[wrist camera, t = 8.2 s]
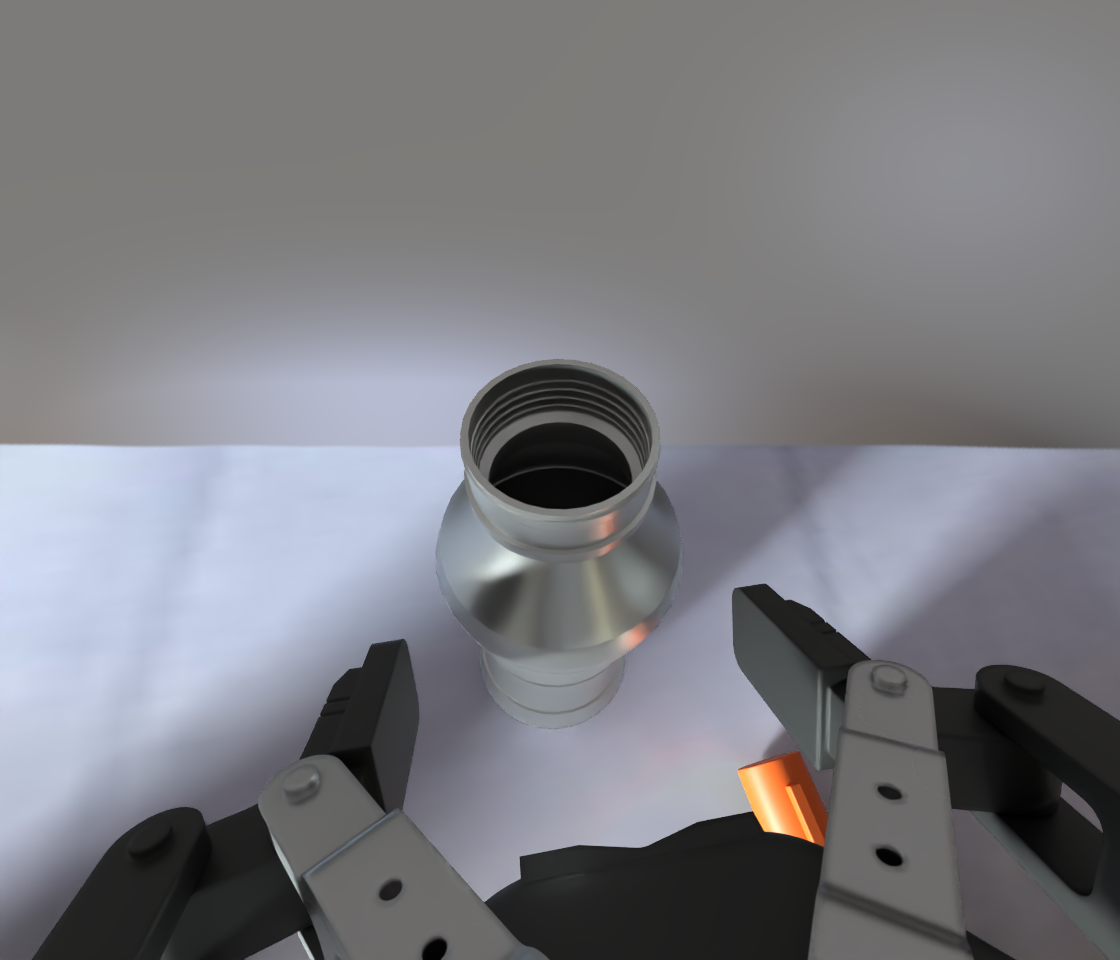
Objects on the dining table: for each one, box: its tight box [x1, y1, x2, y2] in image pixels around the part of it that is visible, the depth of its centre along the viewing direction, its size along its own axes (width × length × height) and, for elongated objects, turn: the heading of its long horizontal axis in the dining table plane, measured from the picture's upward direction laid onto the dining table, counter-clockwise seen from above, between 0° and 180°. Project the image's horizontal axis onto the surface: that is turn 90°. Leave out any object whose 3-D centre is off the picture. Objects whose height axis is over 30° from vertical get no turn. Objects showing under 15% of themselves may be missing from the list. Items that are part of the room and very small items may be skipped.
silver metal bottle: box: [436, 359, 683, 729], centre depth 19 cm, size 6×7×20 cm
